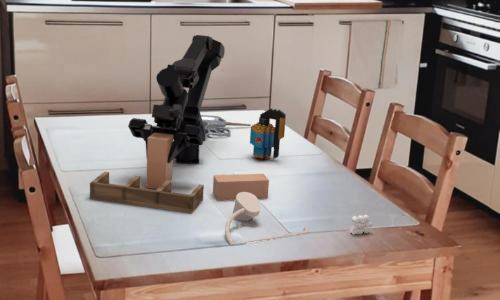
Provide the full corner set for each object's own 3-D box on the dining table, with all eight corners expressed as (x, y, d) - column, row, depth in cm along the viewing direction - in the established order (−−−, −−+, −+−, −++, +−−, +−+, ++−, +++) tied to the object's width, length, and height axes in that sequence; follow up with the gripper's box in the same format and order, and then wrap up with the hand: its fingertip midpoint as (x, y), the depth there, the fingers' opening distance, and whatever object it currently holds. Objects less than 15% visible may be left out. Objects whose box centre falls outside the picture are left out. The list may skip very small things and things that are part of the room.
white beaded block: (352, 235, 186) (355, 217, 185) (348, 233, 187) (352, 214, 186) (370, 234, 188) (373, 216, 187) (367, 232, 189) (370, 214, 188)
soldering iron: (170, 144, 246) (162, 125, 261) (259, 149, 255) (247, 130, 269) (173, 126, 244) (165, 107, 258) (263, 132, 253) (250, 113, 267)
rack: (104, 186, 207) (104, 171, 206) (203, 200, 202) (203, 184, 201) (89, 198, 199) (89, 182, 197) (192, 213, 193) (192, 197, 192)
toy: (245, 159, 234) (248, 108, 229) (258, 150, 242) (261, 101, 238) (277, 165, 231) (280, 113, 226) (288, 156, 239) (292, 106, 235)
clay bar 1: (153, 181, 211) (154, 132, 207) (171, 184, 210) (173, 135, 206) (146, 187, 207) (147, 137, 203) (165, 190, 205) (166, 140, 202)
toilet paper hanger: (232, 244, 176) (203, 197, 188) (228, 261, 179) (199, 213, 190) (312, 231, 186) (279, 186, 197) (306, 247, 189) (274, 202, 200)
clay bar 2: (262, 192, 210) (263, 173, 209) (267, 199, 206) (268, 180, 204) (212, 193, 207) (213, 175, 206) (216, 201, 202) (217, 181, 201)
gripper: (131, 87, 207) (114, 141, 200) (202, 95, 203) (187, 150, 196) (141, 109, 217) (125, 162, 210) (210, 117, 213) (196, 171, 206)
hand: (158, 161), depth 205 cm, fingers closed on clay bar 1, 5 cm apart
